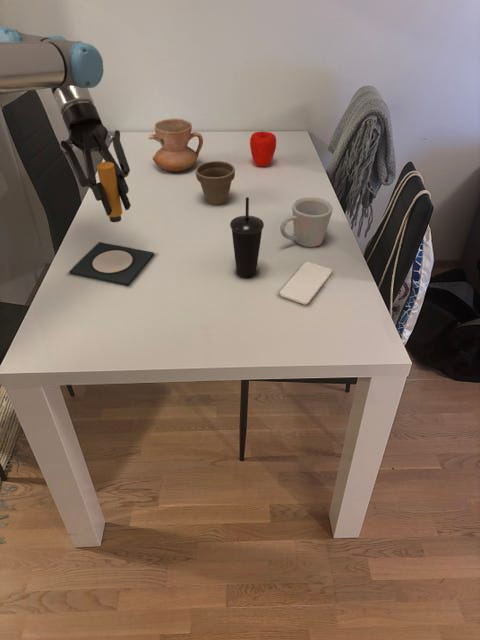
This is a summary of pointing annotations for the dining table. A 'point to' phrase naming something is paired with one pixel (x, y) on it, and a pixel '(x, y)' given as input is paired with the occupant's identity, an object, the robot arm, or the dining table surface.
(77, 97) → the robot arm
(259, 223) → the drinking cup
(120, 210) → the marker
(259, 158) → the red rounded lobed shape
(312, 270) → the smartphone
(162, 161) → the ceramic jug
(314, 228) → the mug
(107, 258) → the black coaster mat
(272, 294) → the dining table surface
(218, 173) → the flower pot
